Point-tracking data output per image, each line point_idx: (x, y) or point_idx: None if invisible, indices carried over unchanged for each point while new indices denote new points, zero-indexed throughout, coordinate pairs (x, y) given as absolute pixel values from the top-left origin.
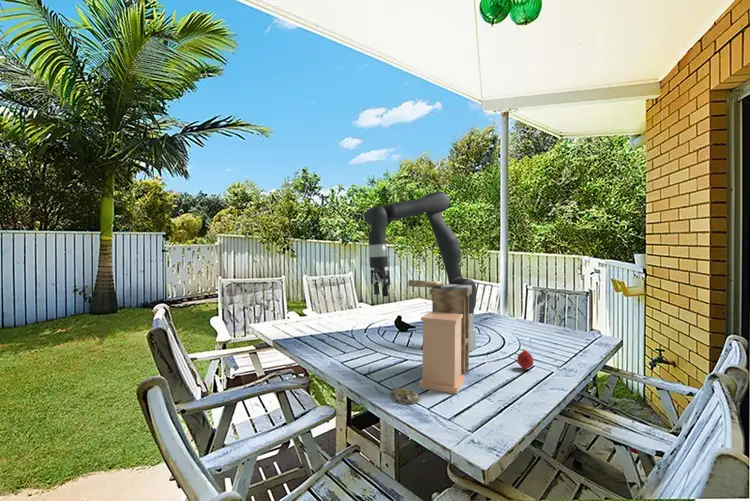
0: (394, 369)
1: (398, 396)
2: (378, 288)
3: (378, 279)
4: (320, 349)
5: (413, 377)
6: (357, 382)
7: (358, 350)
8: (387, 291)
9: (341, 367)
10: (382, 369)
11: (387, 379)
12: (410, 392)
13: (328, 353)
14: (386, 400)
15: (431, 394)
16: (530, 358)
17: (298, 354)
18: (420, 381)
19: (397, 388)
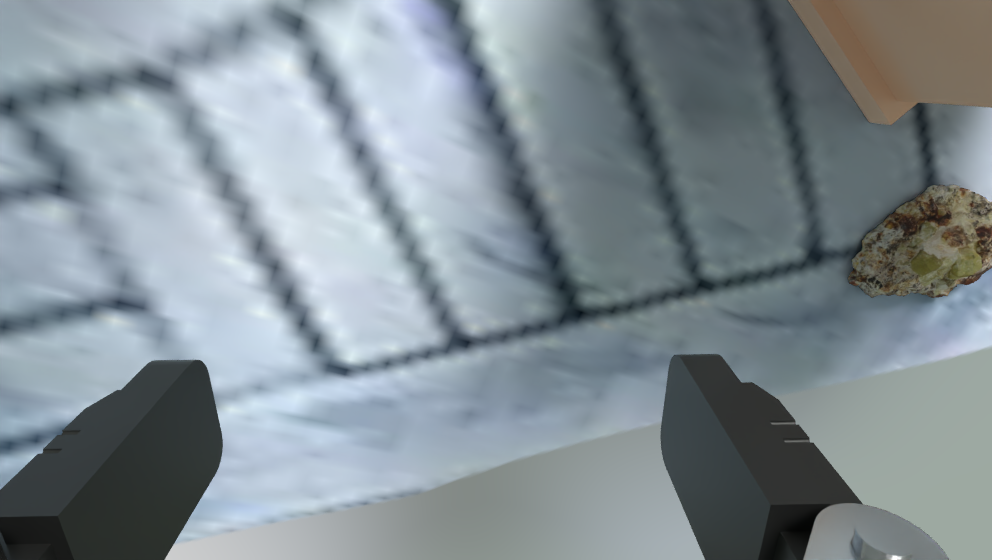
0: (569, 121)
1: (936, 288)
2: (123, 469)
3: None
4: (18, 427)
5: (737, 73)
6: (652, 376)
7: (92, 197)
8: (805, 442)
9: (416, 391)
10: (538, 191)
11: (690, 228)
12: (985, 243)
13: None
14: (890, 326)
15: None
16: None
17: None
18: (893, 114)
19: (880, 263)
